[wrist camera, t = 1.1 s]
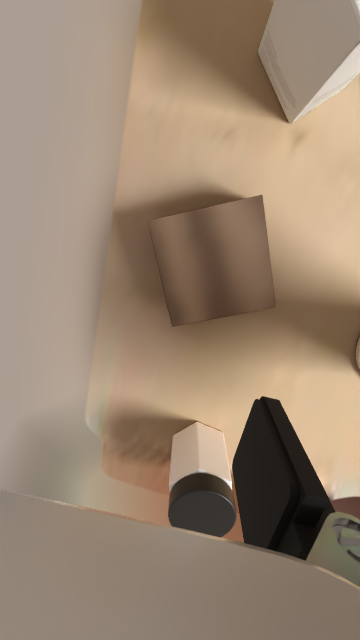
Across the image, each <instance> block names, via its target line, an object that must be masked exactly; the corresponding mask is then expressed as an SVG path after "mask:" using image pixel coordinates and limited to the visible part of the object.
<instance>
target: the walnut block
mask: <svg viewBox="0 0 360 640" xmlns="http://www.w3.org/2000/svg"><path fill="white" fill-rule="evenodd" d="M148 224H149V228H150V233H151V237H152V241H153V246H154V250H155V254H156V259H157V263H158V267H159V272H160V276H161V280H162V285H163V289H164V293H165V298H166V302H167V306H168V311H169V315H170V319H171V324H172V327H174V326H179V325H185V324H190V323H195V322H200V321H205V320H211V319H216V318H221V317H226V316H232V315H237V314H242V313H247V312H253V311H258V310H263V309H268V308H274V307H276V305H275V297H274V288H273V280H272V272H271V263H270V255H269V246H268V238H267V230H266V221H265V213H264V205H263V196H262V195H259V196H254V197H250V198H246V199H241V200H237V201H232V202H228V203H224V204H219V205H215V206H210V207H206V208H202V209H197V210H193V211H188V212H184V213H180V214H175V215H171V216H166V217H162V218H158V219H153V220H149V221H148Z"/></svg>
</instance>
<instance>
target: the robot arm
mask: <svg viewBox="0 0 360 640" xmlns="http://www.w3.org/2000/svg"><path fill="white" fill-rule="evenodd" d="M356 361H357V365H358V367H359V369H360V337H359V339H358V342H357V346H356ZM232 470H233V477H234V483H235V489H236V495H237V501H238V507H239V513H240V519H241V525H242V531H243V538H244V543H242V542H238V541H234V540H229V539H225V538H220V537H216V536H212V535H208V534H204V533H199V532H195V531H191V530H186V529H182V528H177V527H173V526H168V525H164V524H159V523H155V522H150V521H146V520H141V519H137V518H132V517H128V516H123V515H119V514H115V513H110V512H106V511H100V510H96V509H92V508H87V507H83V506H78V505H74V504H69V503H64V502H60V501H55V500H50V499H45V498H41V497H37V496H32V495H27V494H23V493H18V492H13V491H8V490H4V489H0V640H360V520H359V519H357V518H356V517H354V516H351V515H349V514H346V513H342V512H335V510H334V508H333V506H332V504H331V502H330V500H329V498H328V496H327V494H326V492H325V490H324V488H323V486H322V484H321V482H320V480H319V478H318V476H317V474H316V472H315V470H314V468H313V466H312V464H311V462H310V460H309V458H308V456H307V454H306V452H305V450H304V448H303V446H302V444H301V442H300V440H299V438H298V436H297V434H296V432H295V430H294V429H293V427H292V425H291V423H290V421H289V419H288V417H287V415H286V413H285V411H284V409H283V407H282V405H281V403H280V401H279V400H277V399H272V398H268V397H264V396H262V397H261V398H260V400H258V399H256V400H255V401H254V403H253V406H252V408H251V411H250V414H249V417H248V420H247V422H246V425H245V428H244V431H243V434H242V436H241V439H240V442H239V445H238V447H237V450H236V453H235V456H234V459H233V464H232Z"/></svg>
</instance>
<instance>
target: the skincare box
mask: <svg viewBox="0 0 360 640" xmlns="http://www.w3.org/2000/svg"><path fill="white" fill-rule="evenodd" d="M258 54H259V57H260V59H261V61H262V63H263V66H264V68H265V70H266V73H267V75H268V77H269V79H270V82H271V84H272V86H273V88H274V90H275V93H276V95H277V97H278V99H279V102H280V104H281V106H282V108H283V111H284V113H285V115H286V117H287V119H288V121H289V123H293V122H294V121H296V120H298V119H299V118H301V117H302V116H304V115H305V114H307V113H309V112H310V111H312V110H313V109H315V108H316V107H318V106H319V105H321V104H322V103H324V102H325V101H327V100H328V99H330V98H331V97H333V96H334V95H336V94H337V93H339V92H340V91H341V90H343V89H344V88H345V87H346V86H347V85H348V84H349V83H350V82H351V81H352V80H353V79H354V78H355V77H356V76H357V75H358V74H359V73H360V0H274V3H273V6H272V9H271V12H270V15H269V18H268V22H267V25H266V28H265V31H264V34H263V37H262V40H261V43H260V46H259V49H258Z"/></svg>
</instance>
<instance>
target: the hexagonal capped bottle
mask: <svg viewBox="0 0 360 640" xmlns="http://www.w3.org/2000/svg"><path fill="white" fill-rule="evenodd" d="M169 489H170V496H169V497H170V498H169V510H168V517H169V521H170V523H171V526H173V527H177V528H182V529H186V530H191V531H195V532H199V533H204V534H208V535H212V536H216V537H222V536H224V535H225V534H227V533H228V532H229V531H230V530H231V529H232V527H233V526H234V524H235V521H236V507H235V501H234V495H233V492H232V481H231V475H230V469H229V463H228V457H227V451H226V445H225V439H224V433H223V432H221V431H219V430H216V429H214V428H211V427H209V426H206V425H204V424H202V423H199V422H195V423H194V424H192V425H190V426H188V427H187V428H185V429H183V430H181V431H180V432H178V433H176V434H174V435H173V441H172V453H171V466H170V478H169Z"/></svg>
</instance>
